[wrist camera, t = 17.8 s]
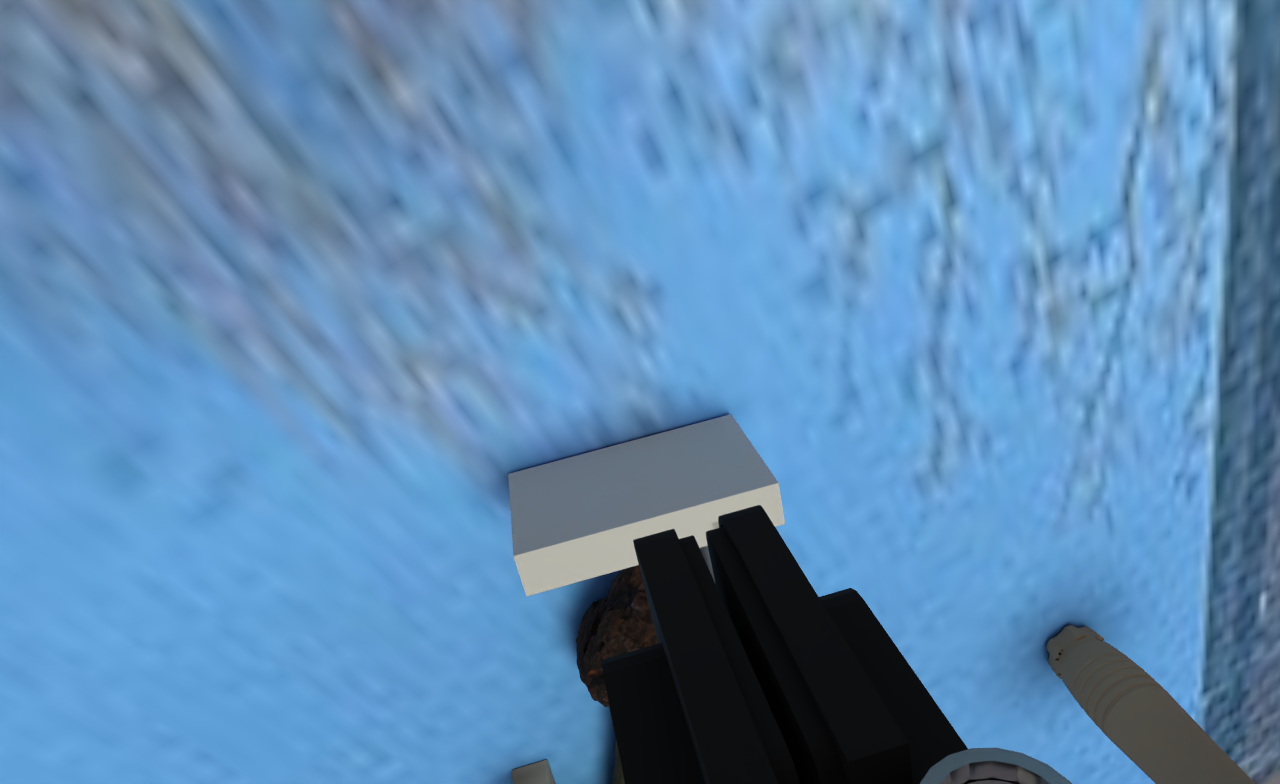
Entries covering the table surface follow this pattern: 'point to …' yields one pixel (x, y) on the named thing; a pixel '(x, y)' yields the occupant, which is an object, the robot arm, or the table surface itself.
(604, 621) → the brown lumpy-headed club
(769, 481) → the sliding end cap
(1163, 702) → the handle
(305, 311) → the table surface
